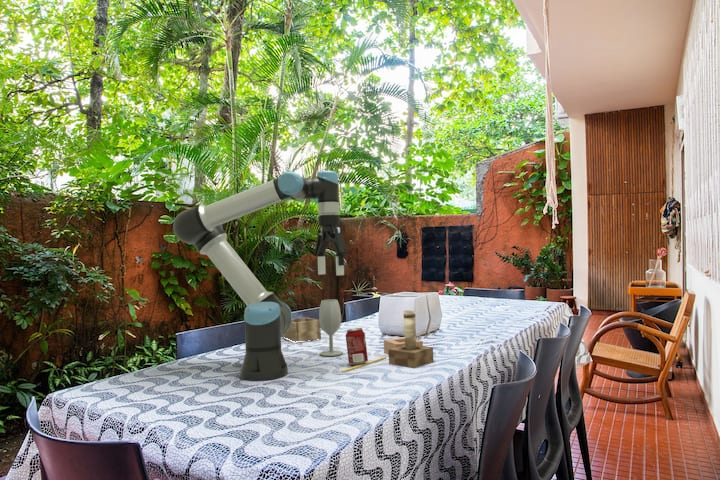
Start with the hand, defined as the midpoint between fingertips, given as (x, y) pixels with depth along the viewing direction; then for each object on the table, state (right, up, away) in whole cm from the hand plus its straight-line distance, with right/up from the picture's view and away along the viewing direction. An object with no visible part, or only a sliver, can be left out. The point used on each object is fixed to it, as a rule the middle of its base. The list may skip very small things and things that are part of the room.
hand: (330, 274), depth 178 cm
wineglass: (-1, -32, +16) cm, 36 cm away
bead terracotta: (+27, -31, +13) cm, 43 cm away
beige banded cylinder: (+28, -31, -3) cm, 42 cm away
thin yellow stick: (+12, -31, -3) cm, 33 cm away
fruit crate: (-16, -33, +52) cm, 64 cm away
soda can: (+10, -31, -2) cm, 33 cm away
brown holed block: (+28, -31, -3) cm, 42 cm away
